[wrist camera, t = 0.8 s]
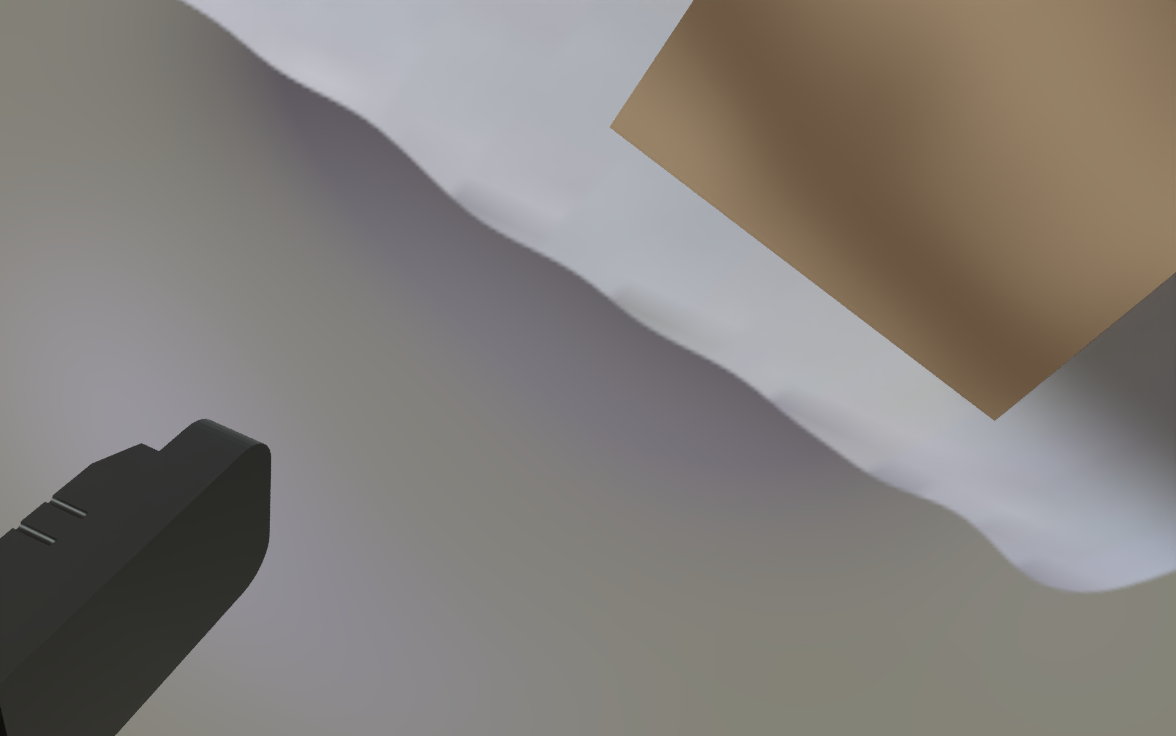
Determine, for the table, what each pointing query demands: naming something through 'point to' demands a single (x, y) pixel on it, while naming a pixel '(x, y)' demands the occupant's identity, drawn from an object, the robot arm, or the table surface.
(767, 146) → the slatted wooden stool
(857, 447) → the table surface
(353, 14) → the table surface
